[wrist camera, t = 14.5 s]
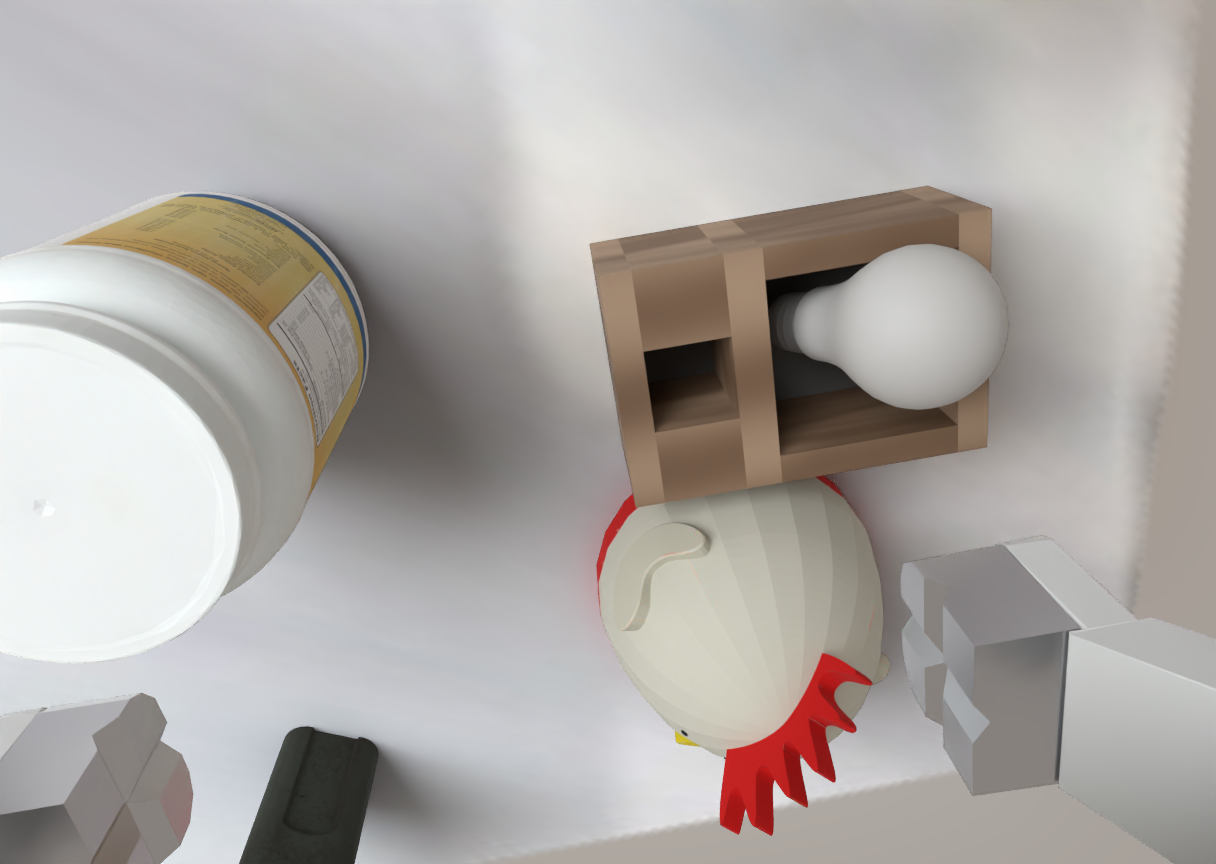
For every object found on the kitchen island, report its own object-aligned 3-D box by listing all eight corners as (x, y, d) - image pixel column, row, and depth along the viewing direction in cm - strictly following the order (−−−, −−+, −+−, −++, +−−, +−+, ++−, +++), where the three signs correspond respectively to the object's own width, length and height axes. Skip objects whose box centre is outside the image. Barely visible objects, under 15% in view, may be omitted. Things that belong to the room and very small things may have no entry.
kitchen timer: (542, 596, 46) (545, 829, 32) (714, 395, 42) (800, 562, 29) (742, 716, 50) (820, 968, 37) (915, 543, 47) (1074, 751, 33)
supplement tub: (185, 489, 42) (-18, 745, 27) (28, 249, 37) (-330, 392, 22) (421, 398, 41) (353, 609, 26) (292, 139, 36) (113, 208, 21)
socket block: (589, 243, 39) (598, 275, 34) (927, 185, 39) (991, 208, 34) (623, 449, 43) (635, 508, 38) (929, 395, 43) (987, 446, 38)
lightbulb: (845, 322, 42) (1066, 331, 33) (771, 417, 41) (980, 454, 31) (781, 222, 39) (1002, 201, 30) (698, 320, 38) (904, 329, 29)
